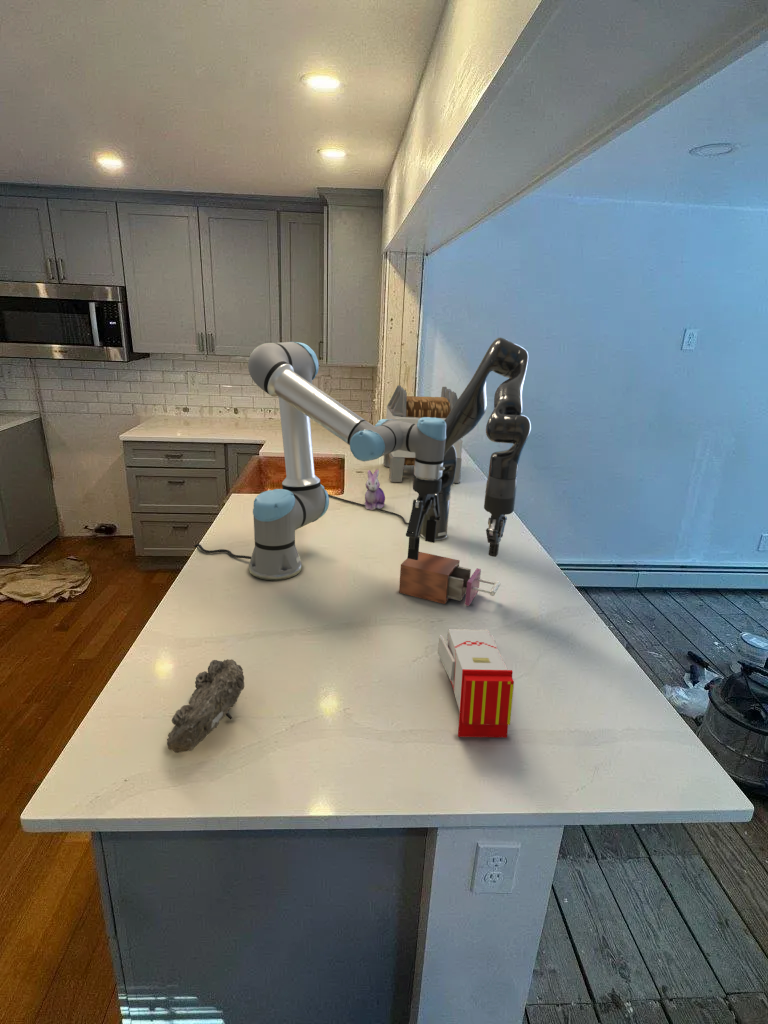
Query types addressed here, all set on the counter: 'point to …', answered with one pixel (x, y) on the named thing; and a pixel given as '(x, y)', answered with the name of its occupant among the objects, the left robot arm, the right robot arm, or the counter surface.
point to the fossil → (206, 705)
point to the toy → (478, 682)
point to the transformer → (411, 412)
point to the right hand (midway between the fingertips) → (493, 555)
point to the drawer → (467, 584)
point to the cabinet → (427, 577)
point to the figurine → (374, 492)
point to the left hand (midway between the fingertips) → (421, 549)
